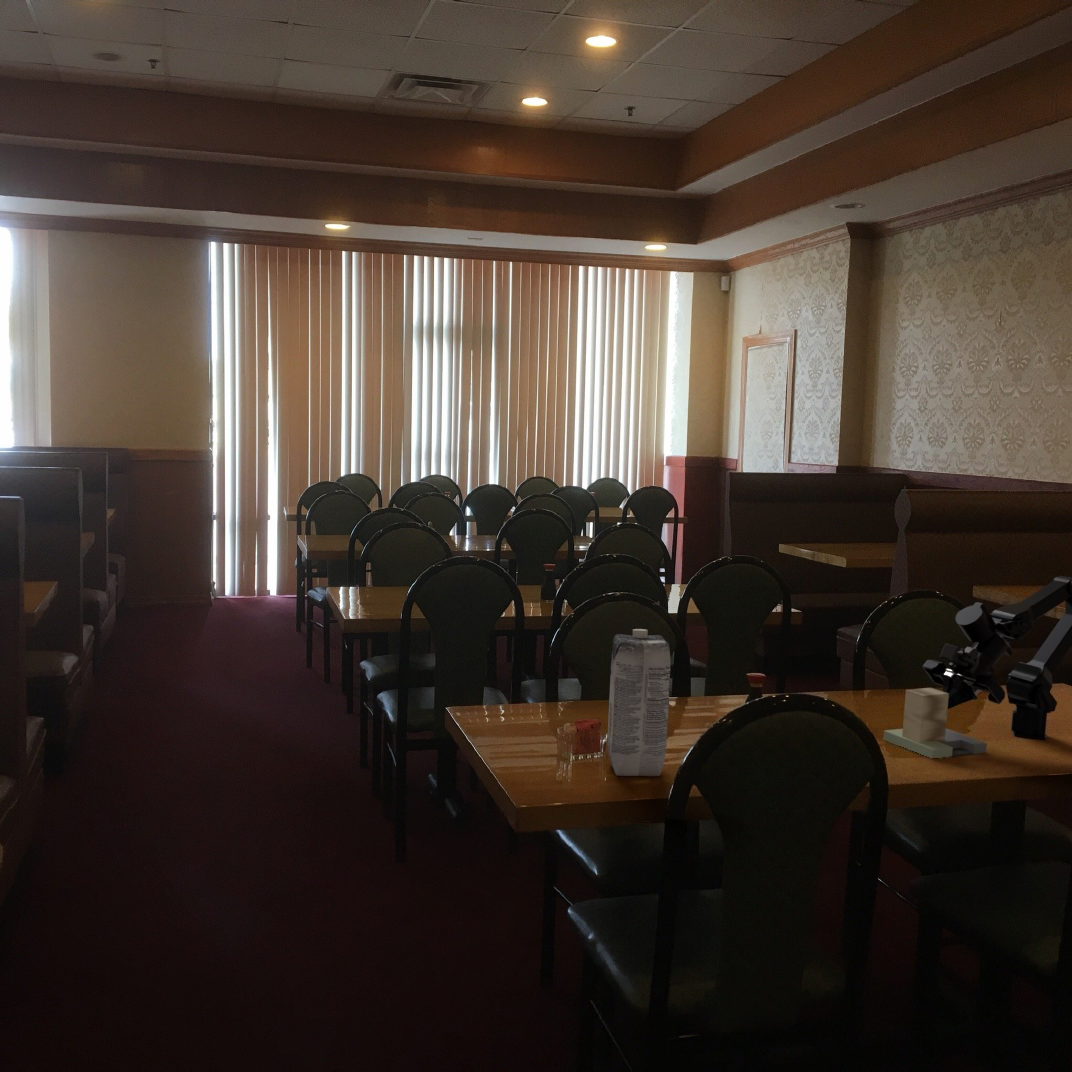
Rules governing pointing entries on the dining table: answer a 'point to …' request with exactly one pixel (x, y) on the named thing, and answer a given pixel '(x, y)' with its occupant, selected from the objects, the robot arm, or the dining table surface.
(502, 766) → the dining table surface
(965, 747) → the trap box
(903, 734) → the maple block
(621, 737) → the juice carton
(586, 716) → the dining table surface
